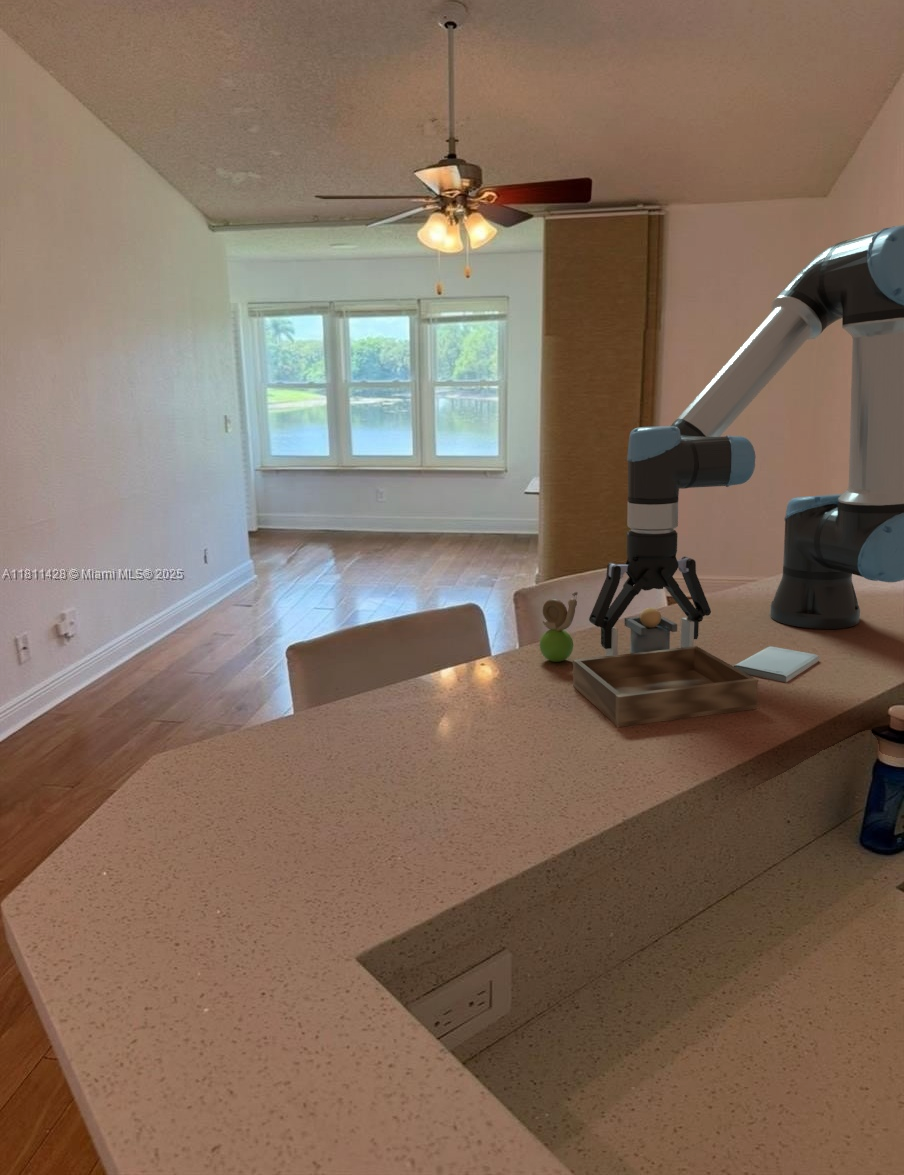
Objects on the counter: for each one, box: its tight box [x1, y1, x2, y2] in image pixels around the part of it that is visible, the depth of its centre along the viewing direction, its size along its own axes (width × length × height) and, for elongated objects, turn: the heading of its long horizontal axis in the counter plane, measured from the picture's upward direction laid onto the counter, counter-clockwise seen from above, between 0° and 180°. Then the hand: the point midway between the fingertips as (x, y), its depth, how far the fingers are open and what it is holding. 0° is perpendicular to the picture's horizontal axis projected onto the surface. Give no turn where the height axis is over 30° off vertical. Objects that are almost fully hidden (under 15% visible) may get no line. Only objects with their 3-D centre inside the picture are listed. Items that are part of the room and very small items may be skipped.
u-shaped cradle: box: [624, 615, 678, 654], centre depth 125 cm, size 6×6×7 cm
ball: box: [639, 607, 662, 628], centre depth 125 cm, size 3×3×3 cm
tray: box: [572, 645, 759, 728], centre depth 112 cm, size 20×16×4 cm
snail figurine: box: [539, 591, 578, 663], centre depth 128 cm, size 5×6×12 cm
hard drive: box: [733, 646, 820, 683], centre depth 123 cm, size 2×8×12 cm
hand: (649, 663), depth 126 cm, fingers open, 12 cm apart
